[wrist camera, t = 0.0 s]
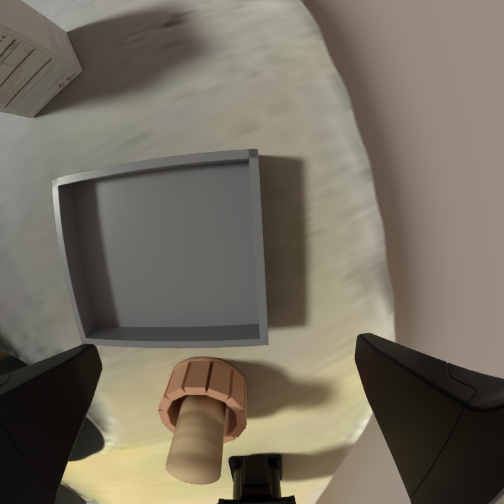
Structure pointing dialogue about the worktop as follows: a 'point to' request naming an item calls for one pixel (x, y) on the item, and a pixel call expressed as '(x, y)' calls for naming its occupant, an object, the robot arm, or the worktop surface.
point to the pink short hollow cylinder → (206, 392)
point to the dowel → (198, 440)
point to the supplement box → (32, 59)
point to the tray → (166, 251)
